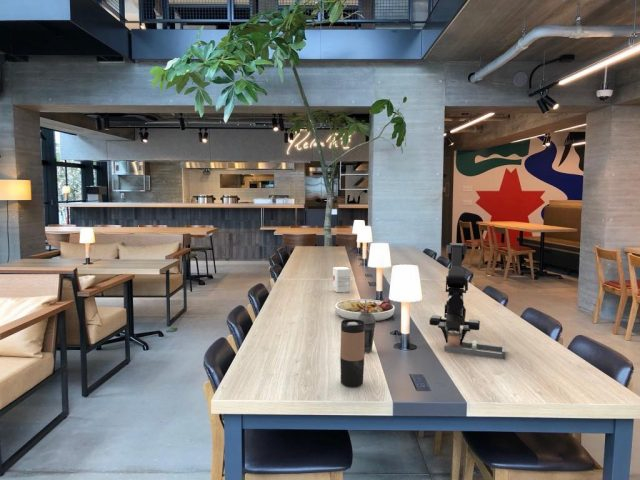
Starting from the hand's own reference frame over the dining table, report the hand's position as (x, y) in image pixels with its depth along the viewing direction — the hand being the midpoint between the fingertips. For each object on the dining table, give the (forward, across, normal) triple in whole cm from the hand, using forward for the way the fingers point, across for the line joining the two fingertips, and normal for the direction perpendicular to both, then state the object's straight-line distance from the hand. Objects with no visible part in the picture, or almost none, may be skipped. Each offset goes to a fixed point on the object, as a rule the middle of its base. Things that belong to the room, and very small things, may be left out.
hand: (453, 343), depth 179 cm
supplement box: (+2, -79, +84) cm, 115 cm away
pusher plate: (+2, +8, 0) cm, 8 cm away
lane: (+2, +8, 0) cm, 8 cm away
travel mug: (+2, -26, -48) cm, 55 cm away
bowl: (+3, -48, +35) cm, 59 cm away
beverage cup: (+2, -31, -17) cm, 35 cm away
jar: (+1, 0, 0) cm, 1 cm away
